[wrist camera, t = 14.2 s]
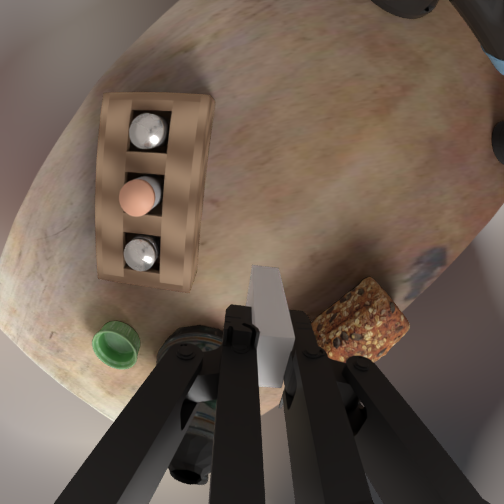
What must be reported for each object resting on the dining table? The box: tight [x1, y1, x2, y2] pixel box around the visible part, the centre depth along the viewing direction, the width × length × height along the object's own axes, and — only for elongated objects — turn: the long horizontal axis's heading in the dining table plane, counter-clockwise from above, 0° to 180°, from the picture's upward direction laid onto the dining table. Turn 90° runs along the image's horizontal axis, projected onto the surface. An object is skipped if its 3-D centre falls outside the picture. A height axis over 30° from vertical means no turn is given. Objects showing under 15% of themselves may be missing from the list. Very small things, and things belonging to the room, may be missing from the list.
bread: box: [311, 277, 410, 363], centre depth 48 cm, size 19×11×10 cm, turn 134°
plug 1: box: [129, 113, 171, 149], centre depth 36 cm, size 4×4×6 cm
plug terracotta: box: [119, 174, 164, 217], centre depth 37 cm, size 4×4×6 cm
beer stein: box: [156, 325, 223, 485], centre depth 43 cm, size 16×19×25 cm
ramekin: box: [92, 321, 140, 369], centre depth 51 cm, size 9×9×4 cm
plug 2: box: [124, 234, 161, 271], centre depth 41 cm, size 4×4×6 cm
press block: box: [95, 92, 215, 293], centre depth 40 cm, size 26×14×7 cm, turn 172°
